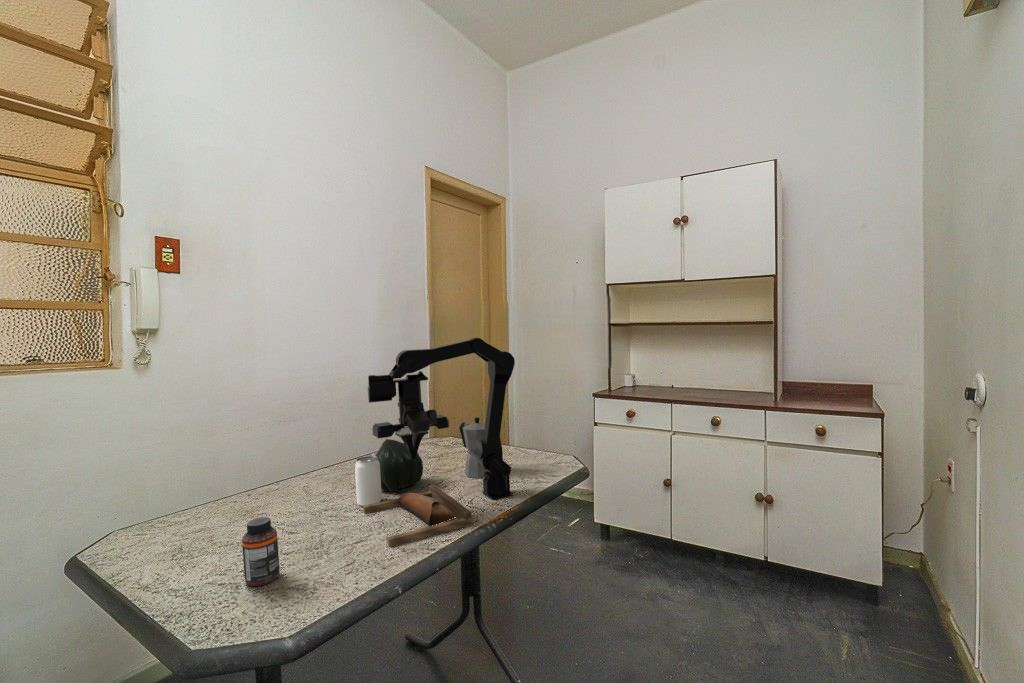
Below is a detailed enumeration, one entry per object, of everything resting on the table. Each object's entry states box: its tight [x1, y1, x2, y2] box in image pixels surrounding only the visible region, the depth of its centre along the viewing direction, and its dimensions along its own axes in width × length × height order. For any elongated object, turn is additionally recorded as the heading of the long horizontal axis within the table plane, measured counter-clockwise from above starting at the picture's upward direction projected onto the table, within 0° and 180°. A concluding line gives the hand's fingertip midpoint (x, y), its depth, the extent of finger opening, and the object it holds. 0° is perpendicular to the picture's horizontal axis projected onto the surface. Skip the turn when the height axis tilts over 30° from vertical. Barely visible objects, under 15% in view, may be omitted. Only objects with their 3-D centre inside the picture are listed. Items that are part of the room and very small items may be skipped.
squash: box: [374, 438, 424, 492], centre depth 141 cm, size 14×15×15 cm
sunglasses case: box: [399, 492, 455, 526], centre depth 120 cm, size 18×7×7 cm
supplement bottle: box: [241, 516, 281, 587], centre depth 90 cm, size 6×6×11 cm
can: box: [354, 455, 383, 507], centre depth 129 cm, size 6×6×12 cm
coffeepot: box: [458, 417, 487, 479], centre depth 151 cm, size 15×9×18 cm, turn 44°
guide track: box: [362, 484, 475, 548], centre depth 117 cm, size 20×24×3 cm
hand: (413, 458), depth 123 cm, fingers closed
